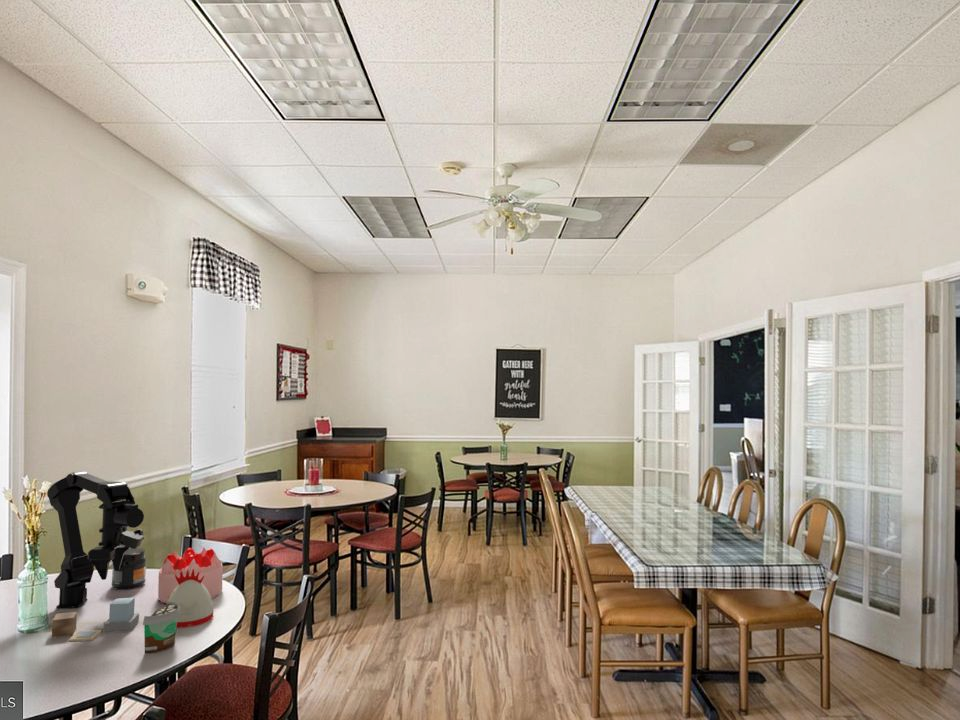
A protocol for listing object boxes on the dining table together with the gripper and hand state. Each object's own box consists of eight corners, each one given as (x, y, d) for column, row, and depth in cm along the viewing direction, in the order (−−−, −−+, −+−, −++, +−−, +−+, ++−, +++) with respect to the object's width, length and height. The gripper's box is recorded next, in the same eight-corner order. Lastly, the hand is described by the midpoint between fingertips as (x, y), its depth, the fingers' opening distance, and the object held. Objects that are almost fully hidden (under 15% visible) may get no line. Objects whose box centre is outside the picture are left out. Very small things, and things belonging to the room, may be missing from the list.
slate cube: (109, 622, 177) (109, 604, 177) (115, 615, 182) (116, 598, 182) (128, 621, 178) (128, 603, 178) (134, 614, 183) (134, 597, 183)
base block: (103, 634, 175) (104, 623, 175) (112, 624, 182) (113, 614, 182) (130, 632, 177) (130, 621, 177) (138, 623, 184) (138, 613, 184)
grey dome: (166, 613, 191) (168, 564, 192) (214, 608, 196) (216, 561, 197) (159, 630, 178) (162, 577, 179) (211, 624, 183) (213, 573, 184)
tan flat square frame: (68, 641, 169) (68, 638, 169) (79, 632, 175) (79, 630, 175) (92, 640, 170) (92, 637, 170) (102, 631, 176) (102, 629, 176)
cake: (144, 603, 199) (145, 559, 200) (182, 583, 219) (182, 543, 219) (201, 607, 197) (202, 562, 197) (233, 586, 217) (234, 545, 217)
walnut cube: (51, 638, 171) (52, 620, 171) (55, 631, 176) (56, 613, 176) (72, 635, 173) (73, 617, 173) (76, 629, 178) (77, 611, 178)
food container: (164, 656, 161) (166, 617, 162) (141, 655, 161) (143, 617, 162) (187, 637, 173) (189, 601, 174) (166, 636, 174) (167, 600, 174)
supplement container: (152, 583, 219) (153, 549, 220) (127, 592, 209) (128, 556, 210) (129, 579, 223) (131, 546, 223) (103, 588, 213) (105, 553, 213)
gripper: (128, 530, 182) (126, 583, 182) (151, 517, 201) (149, 565, 200) (87, 531, 181) (85, 584, 180) (115, 517, 199) (112, 566, 198)
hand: (110, 574), depth 190 cm, fingers open, 9 cm apart
